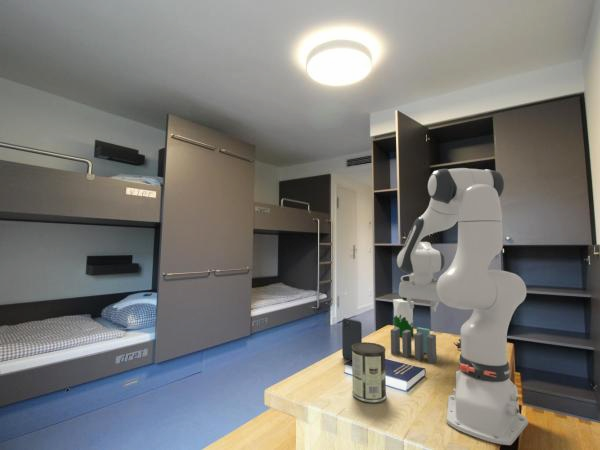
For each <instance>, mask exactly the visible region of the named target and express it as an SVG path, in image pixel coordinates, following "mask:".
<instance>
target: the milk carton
mask: <svg viewBox="0 0 600 450" xmlns="http://www.w3.org/2000/svg"><path fill="white" fill-rule="evenodd" d="M410 301H411V302H412V304H414V300H412V299H411V300H410ZM392 304H393V325H394V326H393V328H400V338H402V332H403V331H405V330H411V338H412V337H413V338H414V334H415V333H414V316H413V315H414V314H413V313H414V312H413V311H414V308H409V303H408V301H407V298H405V297H402V298H397V299H392Z"/></svg>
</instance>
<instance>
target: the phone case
mask: <svg viewBox="0 0 600 450" xmlns="http://www.w3.org/2000/svg"><path fill="white" fill-rule="evenodd" d="M341 322H342V323H341V324H342V325H341V326H342V327H341V328H342V329H341V331H342V335H341V337H342V339H341V340H342V343H341V344H342V349H341V350H342V351H341V353H342V357H343V359H345V360H349V361H351V360H352V345H353V344H356V343H361V342H362V341H363V339H362V335H363V333H362V328H363V327H362V322H361V321H360V320H358V319H357V320H356V319H352V318H347V317H345V318H343V319H342V320H341Z"/></svg>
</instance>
